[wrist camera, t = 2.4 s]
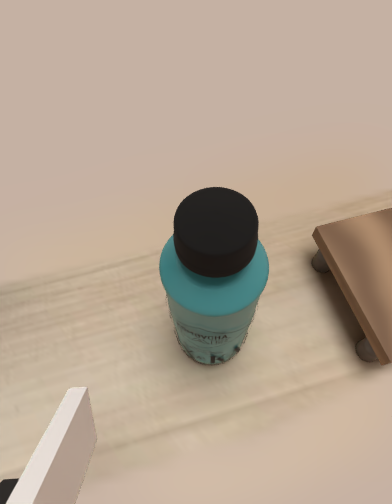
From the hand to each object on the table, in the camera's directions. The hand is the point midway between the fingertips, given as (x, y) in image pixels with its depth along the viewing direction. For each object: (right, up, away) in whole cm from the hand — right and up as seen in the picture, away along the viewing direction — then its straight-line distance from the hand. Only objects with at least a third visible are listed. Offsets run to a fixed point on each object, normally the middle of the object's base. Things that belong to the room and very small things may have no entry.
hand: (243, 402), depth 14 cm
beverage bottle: (0, -2, +18) cm, 18 cm away
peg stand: (+18, +2, +20) cm, 27 cm away
